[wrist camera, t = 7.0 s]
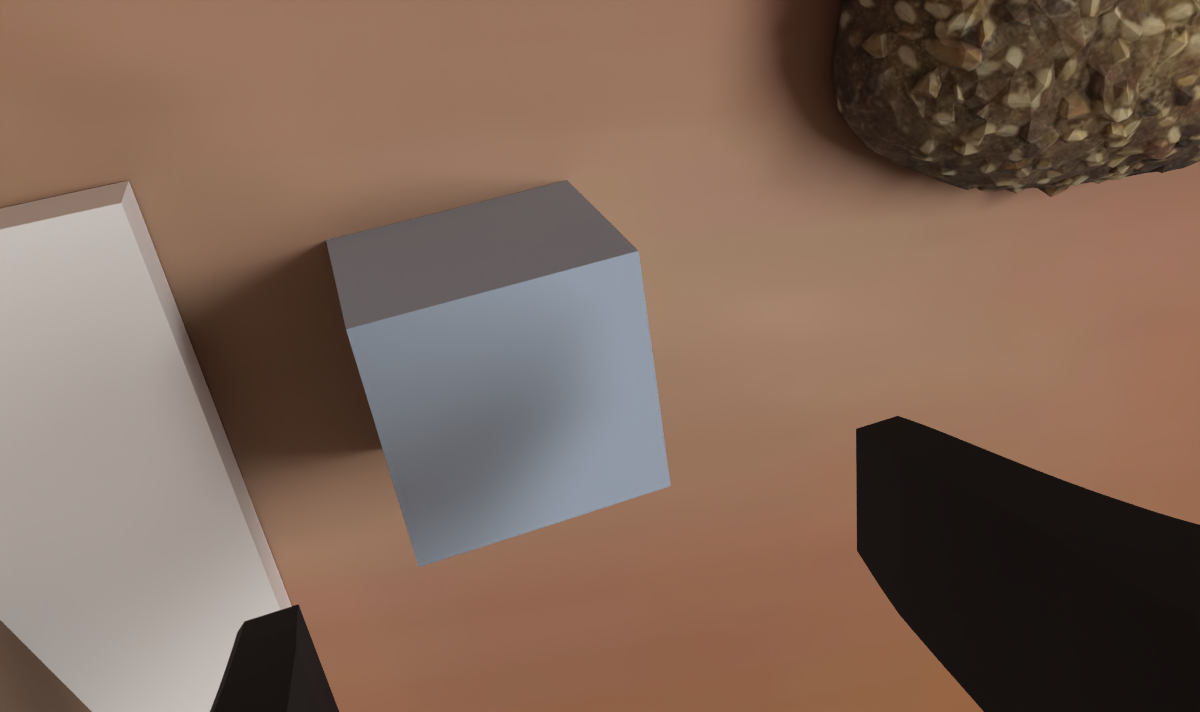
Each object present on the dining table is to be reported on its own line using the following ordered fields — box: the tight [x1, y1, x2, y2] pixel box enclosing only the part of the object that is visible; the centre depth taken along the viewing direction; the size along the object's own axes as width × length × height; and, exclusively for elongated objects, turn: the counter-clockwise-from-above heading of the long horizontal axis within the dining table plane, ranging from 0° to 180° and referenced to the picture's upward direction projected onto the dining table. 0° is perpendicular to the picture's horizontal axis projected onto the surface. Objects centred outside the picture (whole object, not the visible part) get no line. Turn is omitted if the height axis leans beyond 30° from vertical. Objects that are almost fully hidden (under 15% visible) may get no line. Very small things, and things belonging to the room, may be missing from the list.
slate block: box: [326, 180, 671, 567], centre depth 17 cm, size 4×4×4 cm
